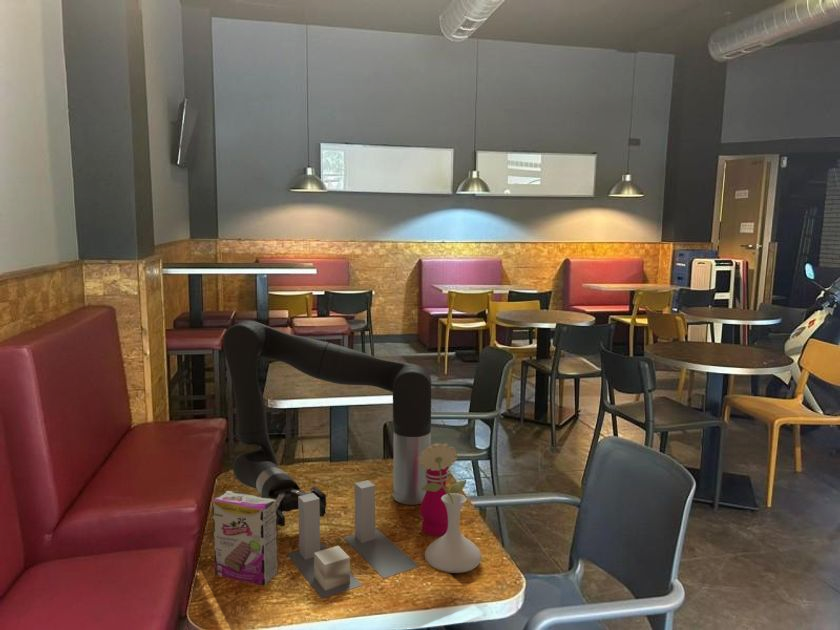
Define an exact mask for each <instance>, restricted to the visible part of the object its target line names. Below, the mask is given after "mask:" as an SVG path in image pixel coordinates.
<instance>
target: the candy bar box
mask: <svg viewBox="0 0 840 630" xmlns="http://www.w3.org/2000/svg"><path fill="white" fill-rule="evenodd" d="M212 518H213V519H212V521H213V544H214V547H213V548H214V570H215V571H214V572H215V573H214V574H215V575H217V576H220V577H224V578H228V579H231V580H237V581H241V582H245V583H251V584H256V585H260V586H261V585H262V586H265V585H267V584H268V583H269V582H270V581H271V580H272V579H274V577H276V576H277V574H278V573H279V567H278V565H279V564H278V532H277V531H278V526H277V521H276V500H274V499H269V498H263V497H261V496H257V495H251V494H246V493H241V492H236V491H230V490H227V491H225V492H223V493H222V494H220V495H219V496H217V497H215V498H214V499H213V500H212Z"/></svg>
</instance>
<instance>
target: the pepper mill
mask: <svg viewBox="0 0 840 630" xmlns="http://www.w3.org/2000/svg"><path fill="white" fill-rule="evenodd" d="M434 444H435V445H436V446H437V445H438V444H439V443H434ZM449 469H450V467H446V468H445V469H441V476H442V483H443V485H444V487H445V488H446V489H447V485H446V484H447V480H448V479H449V472H448V470H449ZM425 474H426V476H425V478H426V479H427V484H429V483H437V484H440V485H441V481H440V471H437V470H434V471H431V469H428V470H427V469H426V472H425ZM446 494H447V493H446V491H445V490H444V488H443V487H441V488H440V489H439V490H438V491H436V492H433V491H426V494H425V496H424V498H423V500H422V503H421V504H420V509H419V515H420V517H421V518H422V521H421V531H423V533H424V534H426V535H428V536H432V537H433V536H434V537H442V536H443V535H445V534H446V532H447V529H448V514H447V509H446V506H445V504H444V503H443V501H442V499H441V498H442V496H443V495H446Z"/></svg>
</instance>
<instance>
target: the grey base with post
mask: <svg viewBox="0 0 840 630" xmlns="http://www.w3.org/2000/svg"><path fill="white" fill-rule="evenodd" d="M342 539H343V540H345V542H346V543H347V544H348V545H349V546H350V547H352V549H353V550H355V552H357V554H358V555H359V556H360V557H362V558H363V560H364V561H366V563H367V564H368V565H369V566H371V568H372V569H374V571H376V573H377V574H378V575H380V577H381V578H382V579H386V578H389V577H392V576H395V575H398V574H400V573H404V572H407V571H411V570H414V569H417V568H420V565H419V564H418V563H417V562H415V561H414V560H413V559H412V558H411V557H410V556H408V555H407V554H406V553H405V552H404V551H403V550H401V548H399V546H398V545H396V544H395V543H394V542H393V541H391V540H390V539H389V538H388V537H386V535H384V534H383V533H382V532H381V531H380V530H379V529H377V528H376V484H374V483H373V482H371V481H370V480H368V479H367V480H362V481H359V482H354V534H351V535H349V536H344V537H342Z"/></svg>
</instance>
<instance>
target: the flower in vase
mask: <svg viewBox="0 0 840 630" xmlns="http://www.w3.org/2000/svg"><path fill="white" fill-rule="evenodd" d="M435 444H436V443H433V444H432V443H431V447H430V448H429V447H427V448H426V450H424V451H423V452H421V456H422V457H418V461H419V464H422V465H421V467H422V468H425V469H427V470H428V469H431V471H434V470H437V471H440V481H441V485H440V484H437V483H429V484H427V485H425V486H424V487H423V488H422V489H421V490H427V491H433V492H436V491H438V490H439V489H440V488H441V487H443V488H444V490H445V491H446V493H447V494H446V495H443V496H442V498H441V499H442V501H443V503H444V504H445V506H446V509H447V514H448V529H447V532H446V534H445V535H442V536H439V537H438V538H437V539H435V540H433V542H431V543H430V544H429V545H428V546H427V548H426V550H425V552H424V558H425V560H426V562H427V564H428V565H430V566H431V567H433V568H434V569H436V570H439V571H443V572H446V573H449V574H462V573H466V572H469V571H472V570H474V569H475V568H476V567H478V565H479V564H480V562H481V561H482V553H481V550H480V549H479V547H478V546H476V544H475V543H473V542H472V541H471V540H470V539H469V538H467V537H465V536H464V535H463V534H462V533H461V531H460V530H461V529H460V518H461V516H460V515H461V513H462V508H463V506H464V504H465V503H466V502H467V497H466V496H465V495H463V494H461V493H459V492H461V491H462V490H463V489H464V488H465V486H466V483H467V479H465V480H462V481H458V482H455V483H452V485H451V486H450V489H449V490H447V487H446V488H445V487H444V485H443V483H442V476H441V469H445V468H446V467H449V468H450V467H452V466H453V464H454V463H456V461H457V459H458V453H457V452H456V449H455V447H454V446H448V445H449V444H448V443H443V444H442V443H437V444H438V445H437V446H436V445H435Z"/></svg>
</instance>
